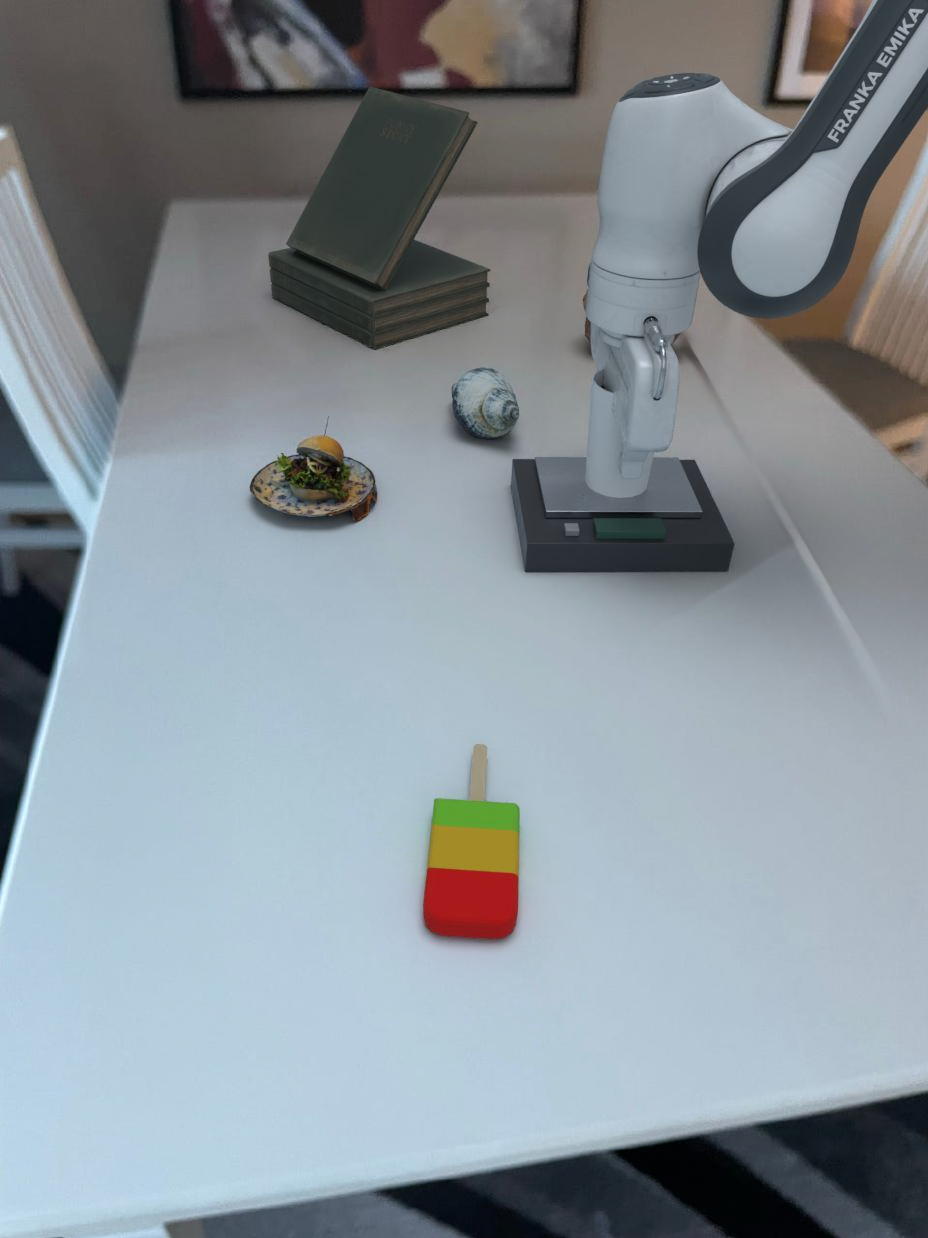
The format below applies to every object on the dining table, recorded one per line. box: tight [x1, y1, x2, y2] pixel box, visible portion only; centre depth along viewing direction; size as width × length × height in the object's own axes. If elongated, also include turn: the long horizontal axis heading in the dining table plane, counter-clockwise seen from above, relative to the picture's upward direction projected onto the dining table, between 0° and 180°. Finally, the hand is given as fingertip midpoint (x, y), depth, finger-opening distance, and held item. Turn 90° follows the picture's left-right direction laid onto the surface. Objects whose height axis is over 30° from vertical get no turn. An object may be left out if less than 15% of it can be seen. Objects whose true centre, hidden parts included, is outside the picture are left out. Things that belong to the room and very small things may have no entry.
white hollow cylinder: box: [585, 368, 655, 498], centre depth 89 cm, size 7×7×10 cm
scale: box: [510, 458, 736, 573], centre depth 92 cm, size 18×15×4 cm
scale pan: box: [533, 456, 702, 518], centre depth 92 cm, size 14×10×1 cm
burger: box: [249, 415, 378, 523], centre depth 93 cm, size 12×12×8 cm
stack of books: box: [267, 86, 491, 350], centre depth 129 cm, size 23×20×25 cm
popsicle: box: [422, 743, 521, 940], centre depth 63 cm, size 6×15×2 cm, turn 177°
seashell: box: [451, 367, 520, 440], centre depth 107 cm, size 6×8×12 cm
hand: (620, 449), depth 90 cm, fingers open, 8 cm apart
